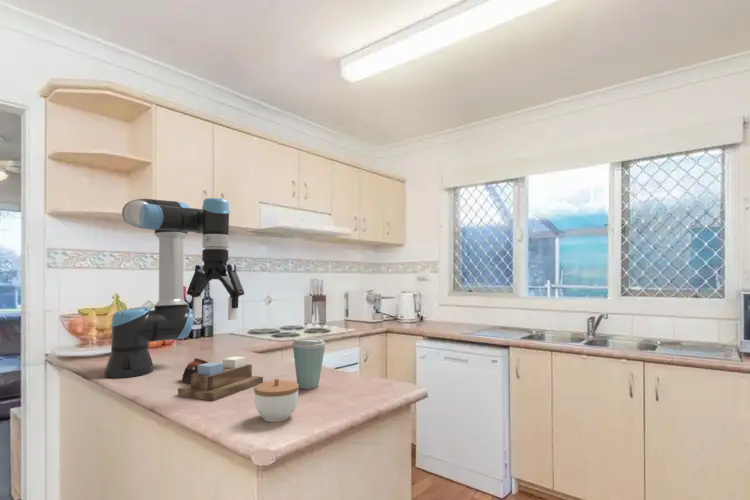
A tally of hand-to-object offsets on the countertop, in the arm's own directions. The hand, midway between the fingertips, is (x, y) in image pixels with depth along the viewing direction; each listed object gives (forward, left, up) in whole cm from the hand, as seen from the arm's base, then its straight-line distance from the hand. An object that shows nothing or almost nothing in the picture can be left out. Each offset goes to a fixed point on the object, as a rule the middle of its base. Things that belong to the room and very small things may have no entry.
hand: (214, 318), depth 128 cm
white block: (0, +9, -17) cm, 20 cm away
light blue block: (0, -1, -17) cm, 17 cm away
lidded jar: (+32, -11, -22) cm, 40 cm away
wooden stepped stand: (0, +4, -22) cm, 22 cm away
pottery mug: (-16, +9, -22) cm, 29 cm away
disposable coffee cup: (+23, +17, -22) cm, 36 cm away
